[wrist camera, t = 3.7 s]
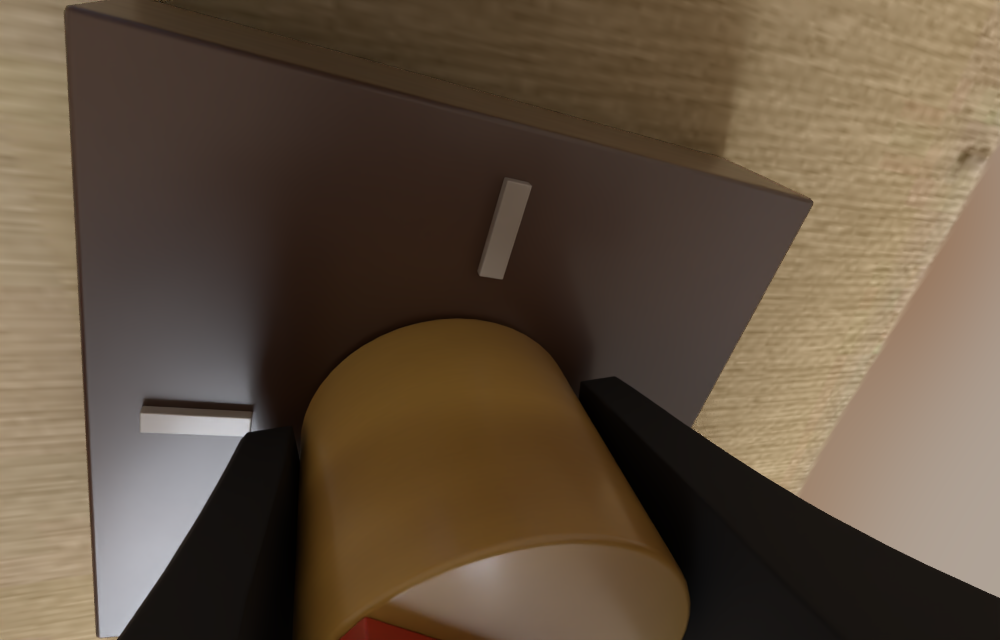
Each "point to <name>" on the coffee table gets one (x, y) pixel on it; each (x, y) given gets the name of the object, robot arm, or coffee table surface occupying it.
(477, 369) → the lock knob
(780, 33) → the coffee table surface
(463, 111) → the plate
